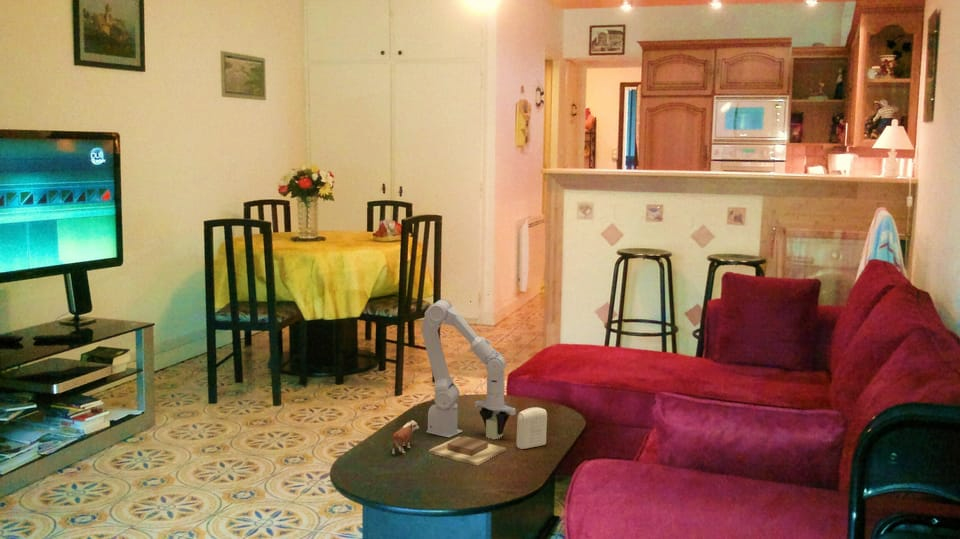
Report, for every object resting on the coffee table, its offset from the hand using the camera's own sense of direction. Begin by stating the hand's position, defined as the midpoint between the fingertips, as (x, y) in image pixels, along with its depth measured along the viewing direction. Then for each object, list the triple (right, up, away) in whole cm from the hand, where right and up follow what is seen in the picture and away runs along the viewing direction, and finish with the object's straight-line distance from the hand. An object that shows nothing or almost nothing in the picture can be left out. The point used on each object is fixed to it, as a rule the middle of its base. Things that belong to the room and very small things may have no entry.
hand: (494, 432), depth 283 cm
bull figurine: (-28, -3, -13) cm, 31 cm away
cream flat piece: (-9, -3, -14) cm, 17 cm away
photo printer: (+12, -3, -7) cm, 14 cm away
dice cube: (+2, +1, +23) cm, 23 cm away
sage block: (0, -2, 0) cm, 2 cm away
